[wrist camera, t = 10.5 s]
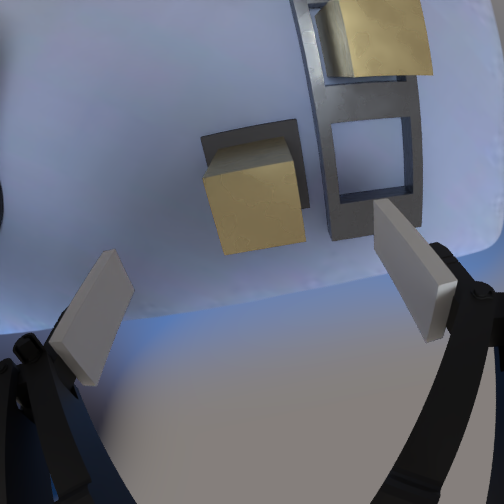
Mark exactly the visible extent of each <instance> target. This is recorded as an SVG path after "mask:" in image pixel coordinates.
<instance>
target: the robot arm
mask: <svg viewBox="0 0 504 504" xmlns="http://www.w3.org/2000/svg"><path fill="white" fill-rule="evenodd" d="M373 207H374V250H375V251H376V253H377V255H378V256H379V258H380V260H381V261H382V263H383V265H384V267H385V268H386V270H387V272H388V273H389V275H390V277H391V279H392V280H393V282H394V284H395V286H396V287H397V289H398V291H399V293H400V295H401V297H402V298H403V300H404V302H405V304H406V306H407V308H408V310H409V311H410V313H411V315H412V317H413V319H414V321H415V323H416V324H417V327H418V328H419V330H420V333H421V335H422V337H423V339H424V341H425V343H428V342H431V341H435V340H438V339H441V338H443V336H444V332H445V329H446V327H447V329H448V331H449V333H450V334H451V335H450V338H449V341H448V344H447V348H446V350H445V353H444V356H443V359H442V362H441V364H440V367H439V370H438V372H437V375H436V378H435V380H434V383H433V385H432V388H431V390H430V392H429V395H428V397H427V400H426V402H425V404H424V406H423V409H422V411H421V413H420V415H419V417H418V420H417V422H416V424H415V426H414V428H413V430H412V432H411V434H410V436H409V438H408V440H407V442H406V444H405V446H404V448H403V450H402V451H401V453H400V455H399V457H398V459H397V461H396V462H395V464H394V466H393V468H392V470H391V471H390V473H389V474H388V476H387V478H386V480H385V481H384V483H383V484H382V486H381V488H380V489H379V491H378V492H377V494H376V496H375V497H374V498H373V500H372V501H371V503H370V504H438V501H439V498H440V490H441V487H442V485H443V483H444V481H445V479H446V476H447V474H448V472H449V470H450V467H451V465H452V463H453V460H454V458H455V456H456V453H457V451H458V448H459V446H460V443H461V441H462V438H463V435H464V432H465V430H466V427H467V424H468V421H469V418H470V415H471V412H472V409H473V406H474V402H475V399H476V395H477V392H478V388H479V385H480V381H481V377H482V373H483V369H484V365H485V360H486V356H487V351H488V347H494V355H495V373H496V423H495V440H494V452H493V462H492V470H491V477H490V484H489V490H488V496H487V501H486V504H504V292H502V293H501V292H498V293H497V292H495V291H494V289H493V288H492V287H491V286H490V285H488V284H486V283H483V282H479V281H474V279H473V278H472V277H471V276H470V275H469V273H468V272H467V271H466V269H465V268H464V267H463V266H462V265H461V263H460V262H458V260H457V259H456V258H455V256H453V254H452V253H451V252H450V251H449V249H448V248H447V247H445V246H443V245H441V244H440V243H438V242H435V243H430V244H428V243H427V241H426V240H425V239H424V238H423V237H422V236H421V234H420V233H419V232H418V231H417V230H416V229H415V228H414V226H413V225H412V224H411V223H410V222H409V221H408V220H407V219H406V217H405V216H404V215H403V214H402V213H401V212H400V211H399V210H398V209H397V208H396V206H395V205H394V204H393V203H392V202H391V201H390V200H389V199H388V198H385V199H379V200H373ZM2 212H3V203H2V193H1V188H0V225H1V220H2ZM134 291H135V290H134V288H133V286H132V284H131V282H130V280H129V278H128V275H127V273H126V271H125V269H124V267H123V265H122V263H121V261H120V258H119V256H118V254H117V252H116V250H115V249H112V250H108V251H103V253H102V254H101V256H100V257H99V259H98V260H97V262H96V263H95V265H94V266H93V268H92V270H91V271H90V273H89V274H88V276H87V277H86V279H85V280H84V282H83V284H82V285H81V287H80V288H79V290H78V292H77V293H76V295H75V297H74V298H73V300H72V302H71V303H70V305H69V306H68V307H67V308H66V309H65V310H64V311H63V312H62V314H61V315H60V317H59V319H58V322H56V324H55V326H54V328H53V329H52V331H51V333H50V335H49V337H48V338H47V340H46V342H45V344H44V346H43V345H42V344H41V343H40V341H39V340H38V339H37V337H36V336H35V334H33V333H28V334H25V335H23V336H22V337H21V338H19V339H18V340H17V342H16V343H15V345H14V347H13V352H14V354H15V355H16V356H17V357H18V359H19V360H20V361H21V362H22V364H19V365H16V364H15V363H14V362H13V361H12V360H11V359H10V358H7V359H4V360H3V361H1V362H0V504H137V503H136V502H135V500H134V499H133V497H132V495H131V494H130V492H129V490H128V489H127V487H126V486H125V484H124V482H123V480H122V479H121V477H120V475H119V473H118V472H117V470H116V468H115V466H114V464H113V463H112V461H111V459H110V457H109V455H108V453H107V451H106V449H105V447H104V445H103V443H102V442H101V440H100V437H99V436H98V433H97V431H96V429H95V427H94V425H93V423H92V420H91V419H90V416H89V414H88V412H87V409H86V407H85V405H84V402H83V400H82V397H81V395H80V393H79V390H78V388H77V387H76V385H74V382H75V379H76V377H77V379H78V380H79V381H80V382H81V383H82V384H83V385H84V386H97V384H98V381H99V379H100V376H101V373H102V370H103V367H104V365H105V362H106V360H107V357H108V354H109V352H110V349H111V346H112V344H113V341H114V339H115V336H116V334H117V331H118V329H119V326H120V324H121V321H122V319H123V316H124V314H125V312H126V309H127V307H128V305H129V302H130V300H131V298H132V295H133V293H134ZM16 401H17V402H18V403H19V404H20V405H21V408H20V409H18V406H17V404H16ZM50 475H51V478H52V480H53V483H54V486H55V489H56V491H57V494H58V497H59V500H58V501H56V502H54V500H53V494H52V487H51V479H50Z"/></svg>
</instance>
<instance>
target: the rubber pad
mask: <svg viewBox="0 0 504 504" xmlns="http://www.w3.org/2000/svg"><path fill="white" fill-rule="evenodd" d="M282 136H283V137H284V139H285V141H286V144H287V146H288V149H289V151H290V154H291V156H292V159H293V162H294V168H295V174H296V180H297V186H298V192H299V198H300V204H301V209H304V208H310V203H309V196H308V189H307V182H306V175H305V169H304V162H303V156H302V150H301V144H300V138H299V132H298V126H297V120H296V119H289V120H283V121H277V122H271V123H266V124H260V125H255V126H249V127H244V128H239V129H235V130H230V131H225V132H220V133H216V134H212V135H207V136H203V137H201V142H202V146H203V150H204V154H205V158H206V162H207V165H208V167H209V165H210V163H211V161H212V159H213V158H214V156H215V154H216V152H217V150H218V149H221V148H226V147H231V146H235V145H240V144H245V143H250V142H255V141H260V140H266V139H271V138H277V137H282Z"/></svg>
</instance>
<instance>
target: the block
mask: <svg viewBox="0 0 504 504" xmlns="http://www.w3.org/2000/svg"><path fill="white" fill-rule="evenodd" d="M315 19H316V24H317V28H318V33H319V37H320V42H321V47H322V52H323V57H324V62H325V67H326V73H327V77H365V76H388V75H433V69H432V62H431V55H430V49H429V43H428V37H427V31H426V26H425V21H424V17H423V12H422V8H421V3H420V0H330V1H329V2H328V3H327V4H326V5H325V6H324V7H323V8H322V9H321V10H320V11H319V12H318V13H317V14H316V15H315Z"/></svg>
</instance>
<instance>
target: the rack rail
mask: <svg viewBox="0 0 504 504" xmlns="http://www.w3.org/2000/svg"><path fill="white" fill-rule="evenodd" d="M289 1H290V5H291V9H292V13H293V17H294V22H295V26H296V30H297V35H298V39H299V44H300V49H301V53H302V58H303V63H304V68H305V73H306V78H307V84H308V89H309V95H310V100H311V106H312V112H313V118H314V124H315V130H316V137H317V144H318V150H319V157H320V165H321V172H322V180H323V188H324V196H325V205H326V214H327V224H328V232H329V234H330V237H331V239H332V241H338V240H344V239H350V238H356V237H362V236H368V235H374V207H373V200H379V199H385V198H388V199H389V200H390V201H391V202H392V203H393V204H394V205H395V206H396V208H397V209H398V210H399V211H400V212H401V213H402V214H403V215H404V216H405V217H406V219H407V220H408V221H409V222H410V223H411V224H412V225H413V226H414V228H416V227H421V224H422V200H423V156H422V131H421V116H420V104H419V94H418V85H417V77H416V75H396V76H397V81H375V82H359V83H346V84H335V85H324V79H323V74H322V69H321V63H320V58H319V53H318V48H317V43H316V39H315V34H314V30H313V25H312V21H311V16H310V12H309V8H320V7H324V6H325V5H326V4H327V3H328V2H329V1H330V0H289ZM394 117H401V120H402V133H403V149H404V175H405V186H401V187H393V188H386V189H379V190H371V191H364V192H357V193H350V194H344V195H339V187H338V177H337V168H336V160H335V152H334V144H333V136H332V129H331V123H340V122H349V121H358V120H369V119H381V118H394Z"/></svg>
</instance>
